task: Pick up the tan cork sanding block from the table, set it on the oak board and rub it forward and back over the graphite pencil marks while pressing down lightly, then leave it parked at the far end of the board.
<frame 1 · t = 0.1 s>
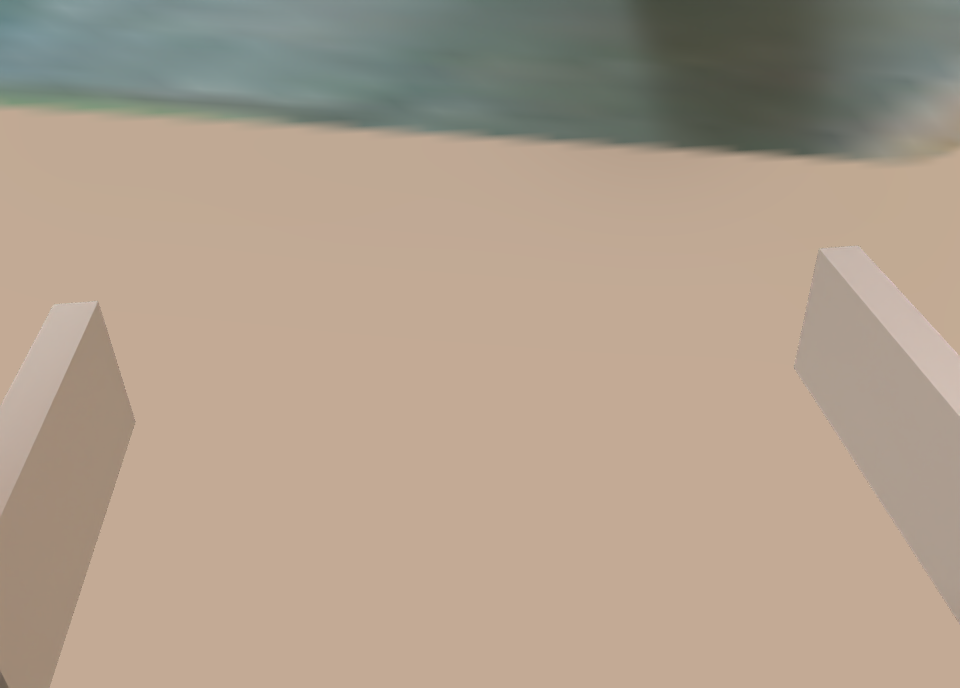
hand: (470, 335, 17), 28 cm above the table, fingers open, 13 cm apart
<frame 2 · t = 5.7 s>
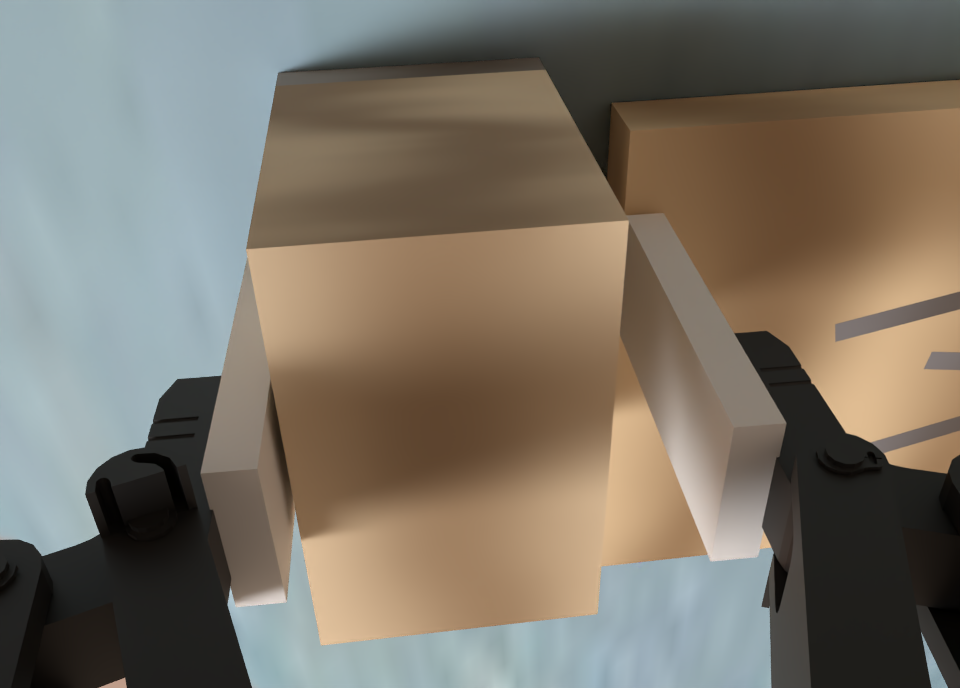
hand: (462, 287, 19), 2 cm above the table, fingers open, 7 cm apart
board: (954, 314, 23), on the table
sanding block: (421, 247, 20), on the table
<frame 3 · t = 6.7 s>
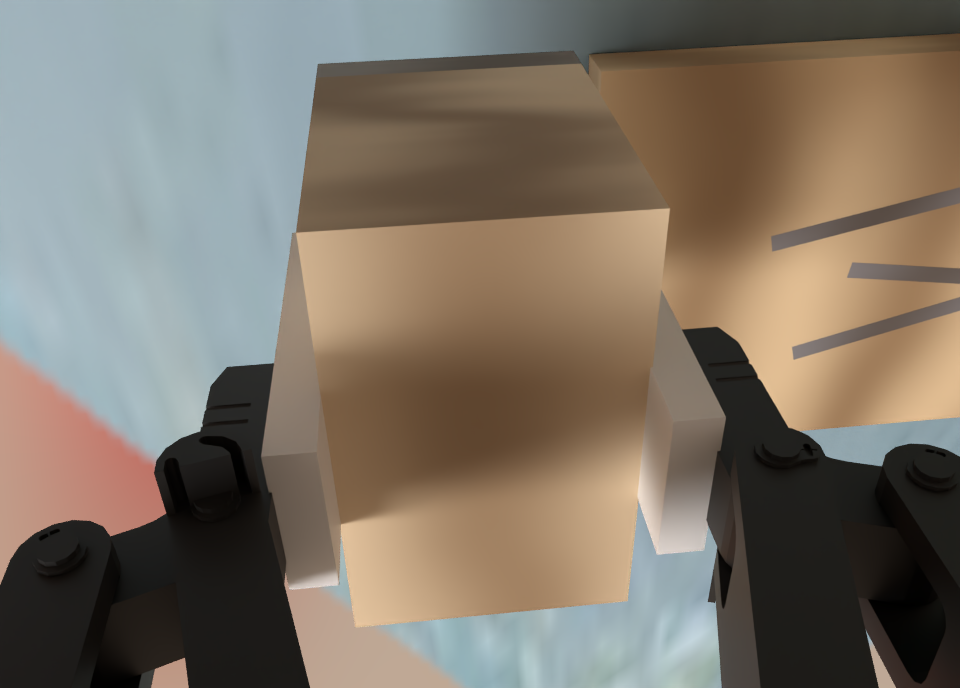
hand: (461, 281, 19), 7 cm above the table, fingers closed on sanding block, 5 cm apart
board: (876, 238, 28), on the table
sanding block: (454, 238, 20), point 5 cm above the table, touching gripper
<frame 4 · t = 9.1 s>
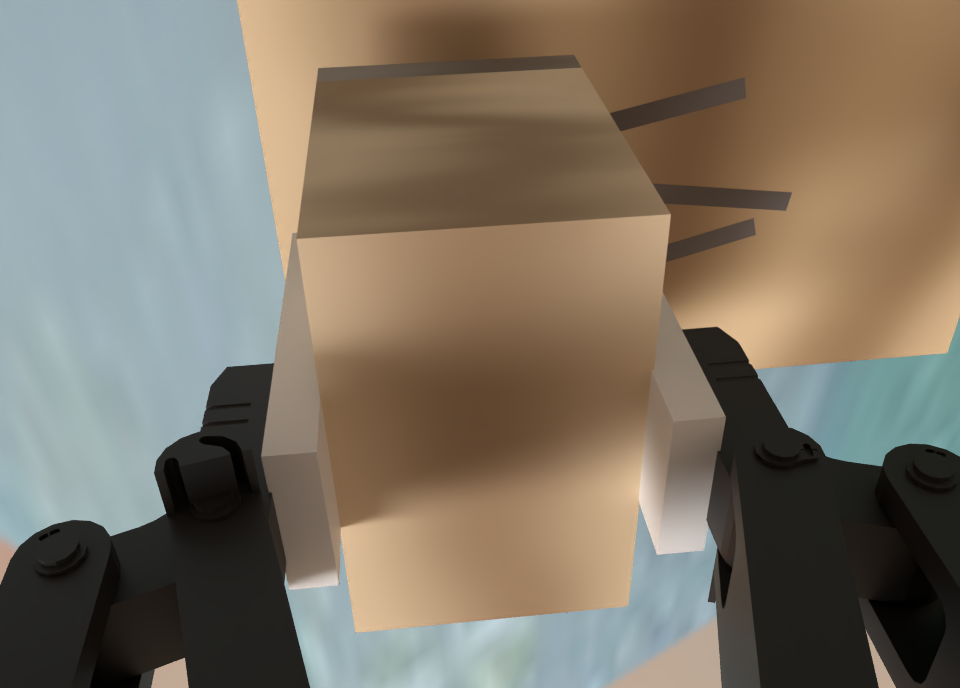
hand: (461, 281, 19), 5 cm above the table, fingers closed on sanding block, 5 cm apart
board: (638, 153, 23), on the table
sanding block: (454, 242, 20), point 3 cm above the table, touching gripper
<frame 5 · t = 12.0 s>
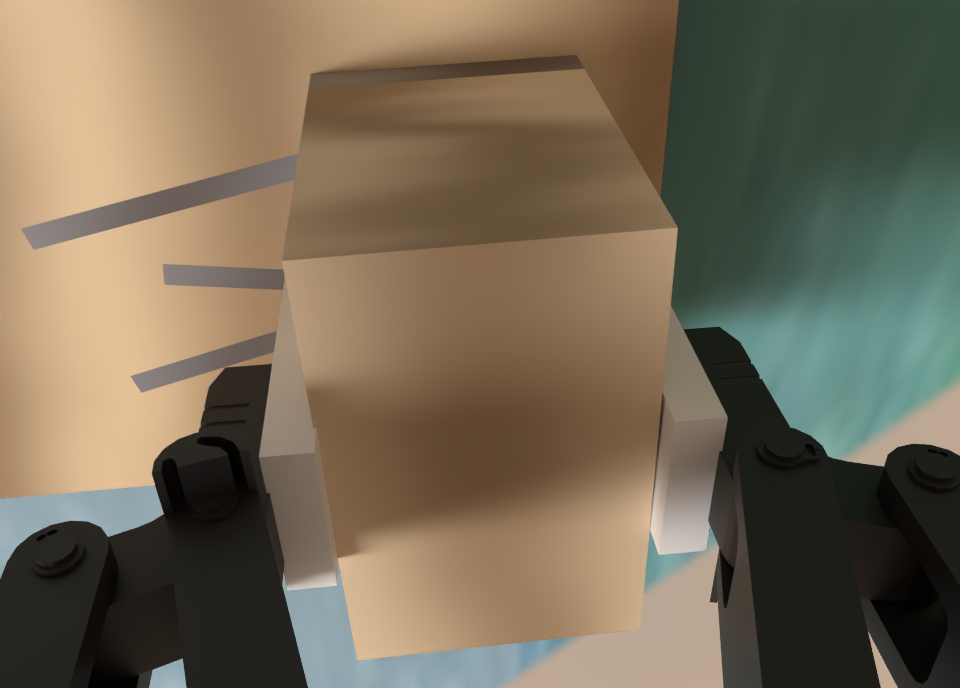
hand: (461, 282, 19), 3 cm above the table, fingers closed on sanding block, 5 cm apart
board: (242, 229, 20), on the table
sanding block: (456, 251, 20), point 2 cm above the table, touching board, gripper
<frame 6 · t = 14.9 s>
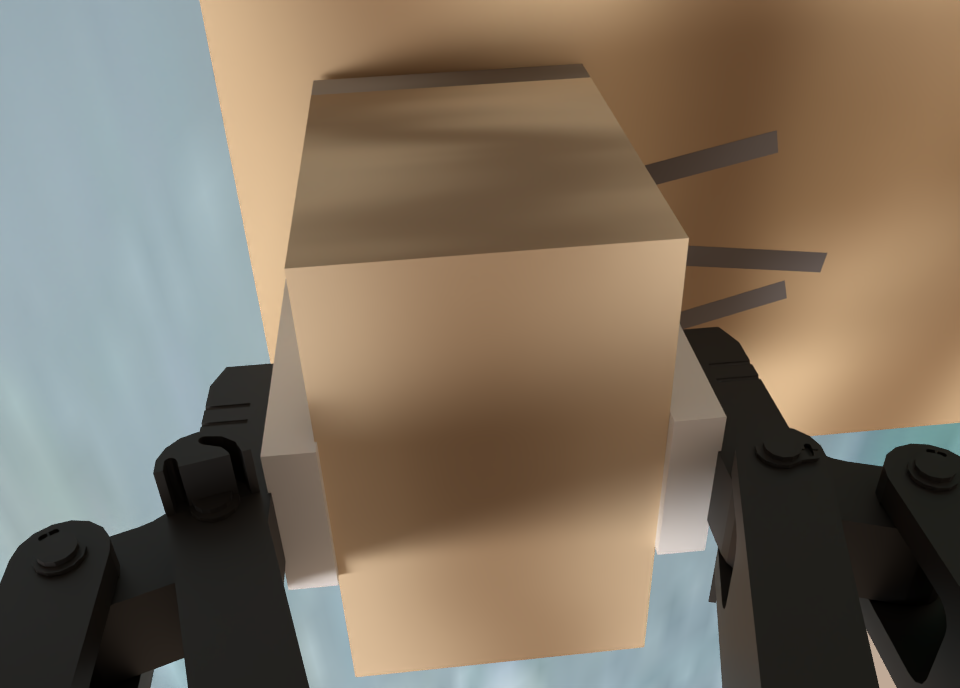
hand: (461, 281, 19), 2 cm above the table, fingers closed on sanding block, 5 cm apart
board: (656, 209, 21), on the table
sanding block: (458, 260, 19), point 2 cm above the table, touching gripper
when the fingers open (3 cm above the table, at t = 17.7 s): sanding block stays where it is, resting on board.
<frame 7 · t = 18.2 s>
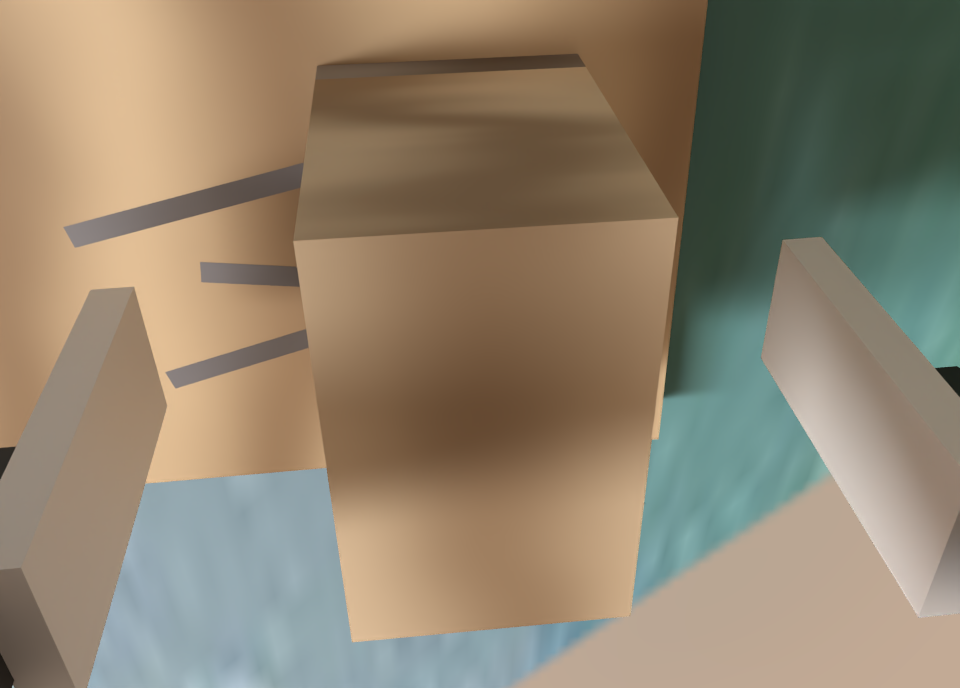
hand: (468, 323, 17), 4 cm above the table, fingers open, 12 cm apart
board: (275, 228, 21), on the table
sanding block: (455, 244, 20), point 2 cm above the table, touching board
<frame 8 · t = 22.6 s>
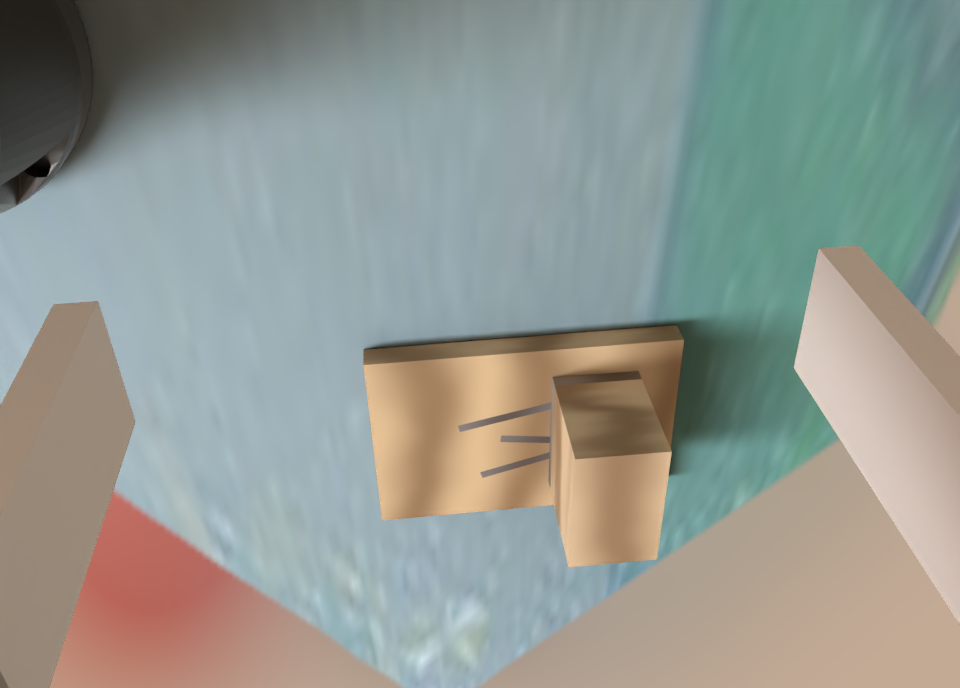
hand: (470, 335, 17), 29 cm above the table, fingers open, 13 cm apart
board: (521, 418, 56), on the table
sanding block: (591, 427, 55), point 2 cm above the table, touching board
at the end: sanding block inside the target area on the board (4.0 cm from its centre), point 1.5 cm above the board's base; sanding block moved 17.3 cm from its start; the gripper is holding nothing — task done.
